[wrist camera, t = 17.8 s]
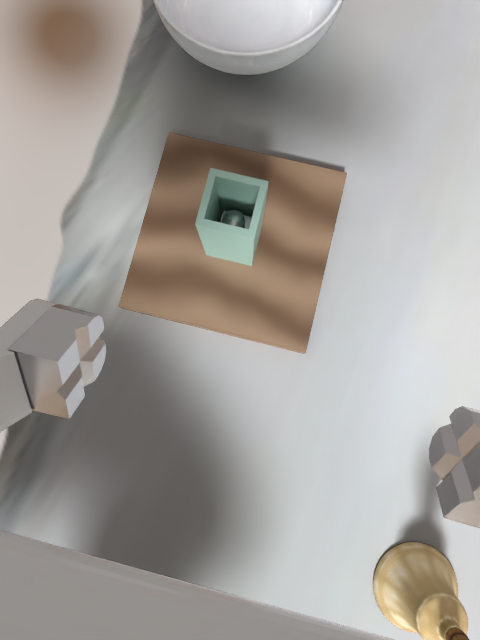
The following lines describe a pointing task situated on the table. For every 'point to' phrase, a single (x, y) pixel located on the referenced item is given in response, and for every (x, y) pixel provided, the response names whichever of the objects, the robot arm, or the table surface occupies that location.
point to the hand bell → (420, 592)
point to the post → (235, 219)
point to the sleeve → (229, 195)
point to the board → (227, 276)
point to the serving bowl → (247, 30)
